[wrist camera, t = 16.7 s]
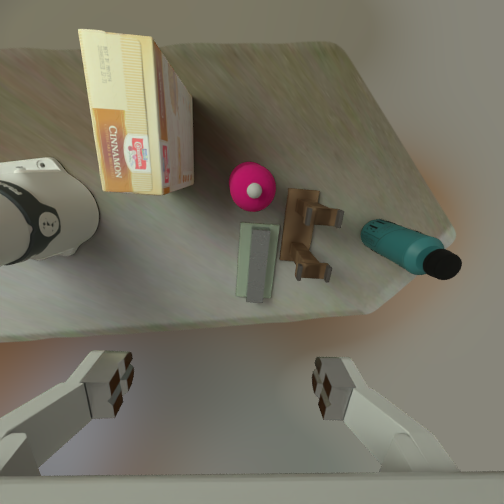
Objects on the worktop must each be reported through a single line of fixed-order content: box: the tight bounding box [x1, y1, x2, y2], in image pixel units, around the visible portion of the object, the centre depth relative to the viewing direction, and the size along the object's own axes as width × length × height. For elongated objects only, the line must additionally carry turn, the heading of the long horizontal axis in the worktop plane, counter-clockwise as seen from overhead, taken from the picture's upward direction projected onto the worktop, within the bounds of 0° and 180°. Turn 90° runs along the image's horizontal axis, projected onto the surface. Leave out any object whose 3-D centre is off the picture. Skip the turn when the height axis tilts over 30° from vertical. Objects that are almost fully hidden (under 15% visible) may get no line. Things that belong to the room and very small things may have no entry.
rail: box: [246, 226, 270, 303], centre depth 49 cm, size 4×16×3 cm, turn 175°
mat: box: [236, 222, 280, 298], centre depth 51 cm, size 8×17×1 cm, turn 175°
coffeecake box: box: [78, 29, 194, 196], centre depth 33 cm, size 15×7×20 cm, turn 176°
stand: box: [279, 188, 344, 282], centre depth 42 cm, size 6×15×14 cm, turn 175°
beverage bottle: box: [361, 219, 462, 280], centre depth 41 cm, size 6×7×20 cm
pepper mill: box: [229, 162, 276, 212], centre depth 36 cm, size 7×7×20 cm
